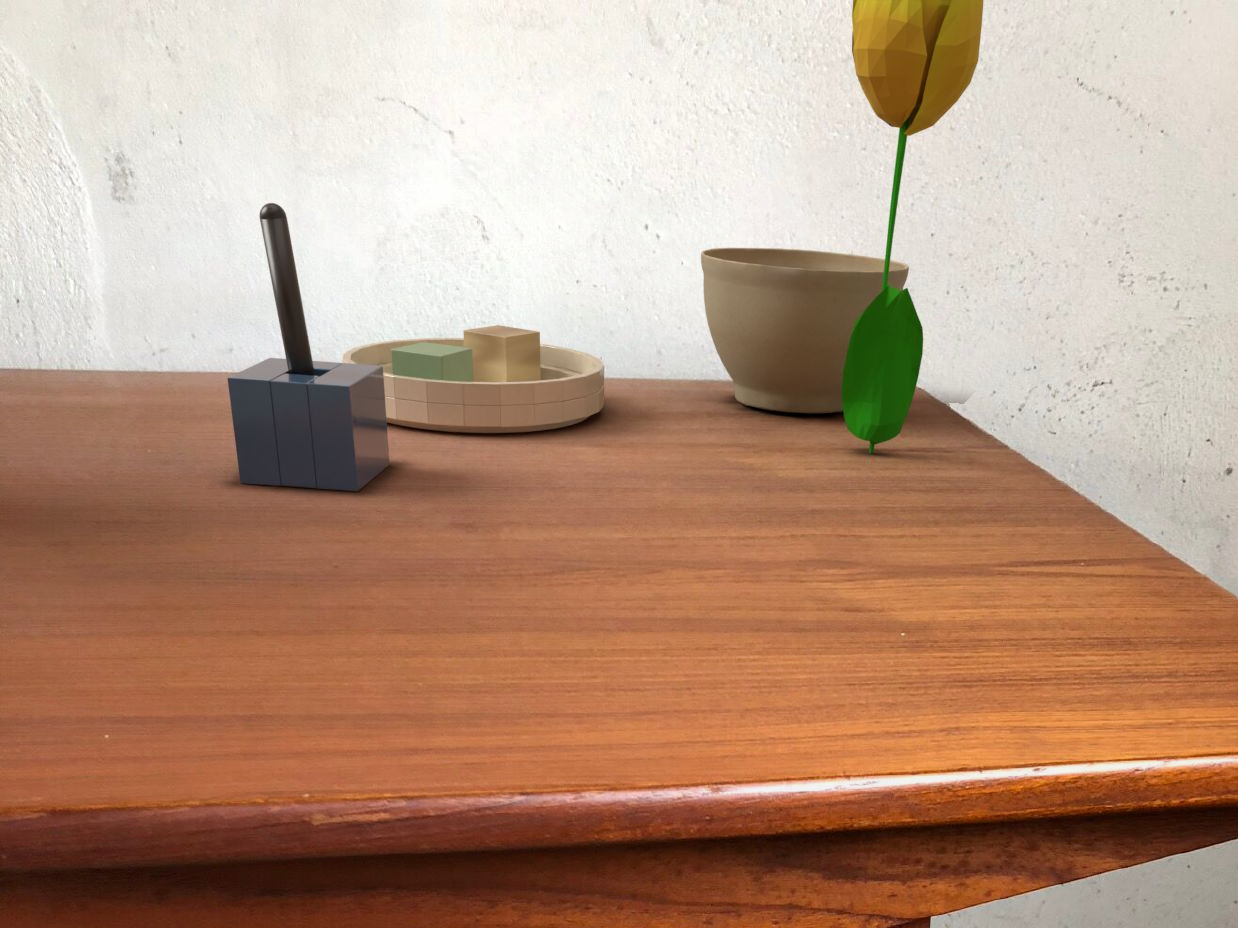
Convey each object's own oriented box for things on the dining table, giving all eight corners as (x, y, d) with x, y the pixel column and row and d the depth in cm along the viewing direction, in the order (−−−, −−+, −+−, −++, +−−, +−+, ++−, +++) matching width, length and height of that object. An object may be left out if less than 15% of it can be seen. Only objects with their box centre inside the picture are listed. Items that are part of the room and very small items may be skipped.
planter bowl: (928, 423, 112) (947, 271, 106) (741, 429, 106) (750, 269, 101) (838, 384, 124) (851, 246, 119) (666, 387, 119) (671, 243, 113)
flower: (805, 438, 105) (846, -59, 89) (912, 441, 106) (970, -50, 90) (826, 465, 97) (874, -71, 82) (940, 469, 98) (1009, -60, 83)
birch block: (465, 387, 111) (463, 330, 109) (499, 381, 114) (498, 325, 112) (507, 395, 109) (505, 337, 107) (540, 388, 112) (540, 331, 110)
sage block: (394, 411, 102) (390, 349, 100) (425, 402, 106) (422, 341, 103) (444, 418, 101) (441, 355, 99) (474, 409, 104) (472, 348, 102)
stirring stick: (304, 477, 88) (252, 204, 80) (313, 470, 89) (263, 201, 81) (327, 477, 88) (277, 204, 79) (335, 470, 89) (288, 201, 81)
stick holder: (240, 483, 85) (227, 377, 82) (280, 456, 91) (269, 357, 88) (357, 491, 85) (349, 386, 82) (389, 464, 91) (383, 365, 88)
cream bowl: (312, 425, 100) (307, 372, 98) (386, 377, 116) (383, 331, 114) (582, 444, 99) (582, 391, 97) (618, 393, 115) (618, 347, 114)
